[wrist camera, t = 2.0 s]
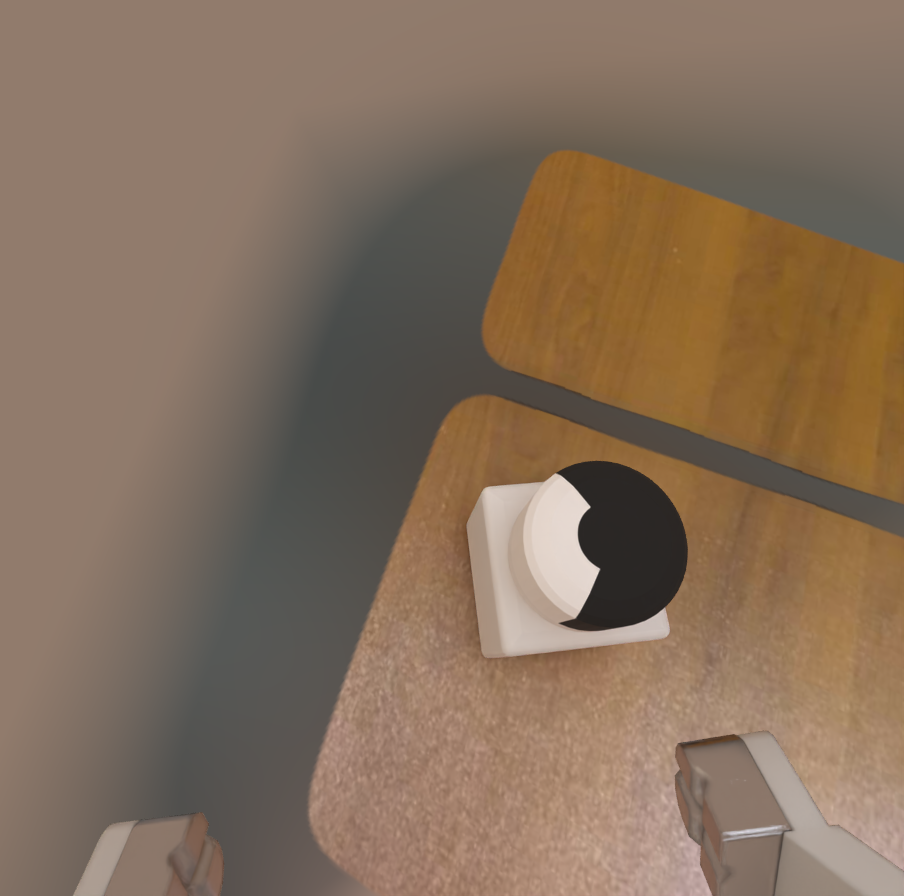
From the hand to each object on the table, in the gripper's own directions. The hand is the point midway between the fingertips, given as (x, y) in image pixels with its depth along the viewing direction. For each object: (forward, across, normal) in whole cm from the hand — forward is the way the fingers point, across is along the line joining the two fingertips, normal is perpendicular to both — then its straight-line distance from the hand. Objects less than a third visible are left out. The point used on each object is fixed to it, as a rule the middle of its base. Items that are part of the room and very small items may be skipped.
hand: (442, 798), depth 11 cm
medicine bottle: (+19, -4, +12) cm, 23 cm away
